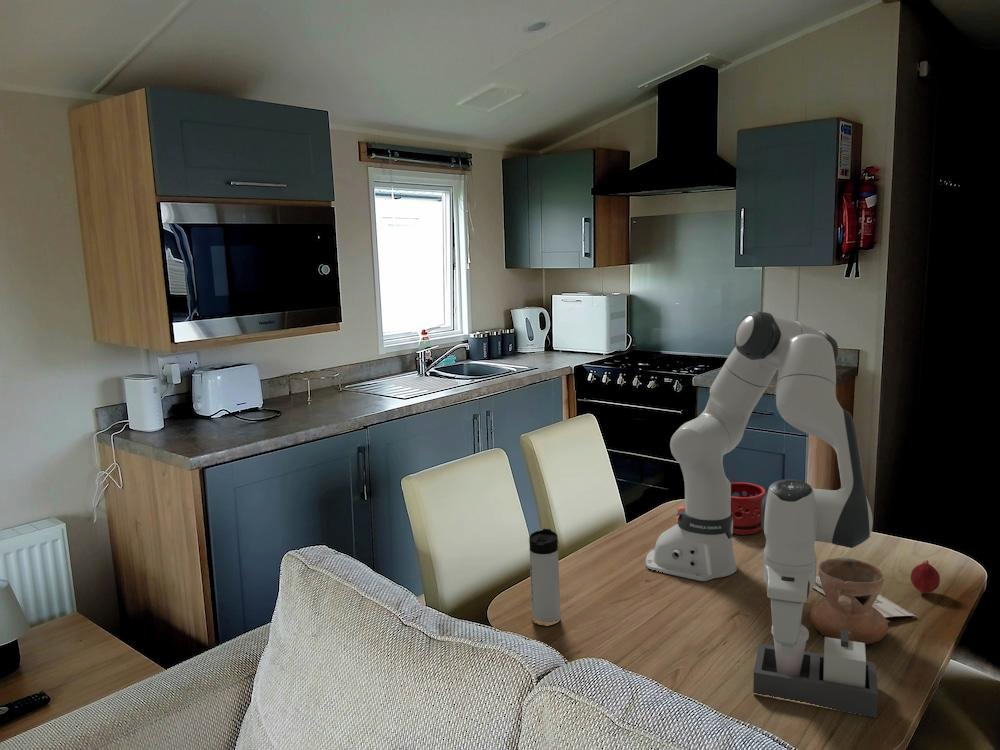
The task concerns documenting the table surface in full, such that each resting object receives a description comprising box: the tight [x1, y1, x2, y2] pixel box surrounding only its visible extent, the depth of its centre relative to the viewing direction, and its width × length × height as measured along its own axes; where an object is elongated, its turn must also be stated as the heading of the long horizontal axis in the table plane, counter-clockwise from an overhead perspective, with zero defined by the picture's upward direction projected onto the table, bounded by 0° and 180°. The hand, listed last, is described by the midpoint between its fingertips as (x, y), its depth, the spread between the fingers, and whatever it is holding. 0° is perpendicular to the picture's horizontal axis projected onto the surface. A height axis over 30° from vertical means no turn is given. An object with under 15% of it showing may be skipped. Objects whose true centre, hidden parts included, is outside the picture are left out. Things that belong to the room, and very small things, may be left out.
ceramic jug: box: [810, 557, 889, 645], centre depth 155 cm, size 18×14×14 cm
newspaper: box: [812, 575, 918, 624], centre depth 169 cm, size 23×12×2 cm, turn 13°
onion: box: [910, 559, 941, 595], centre depth 170 cm, size 6×6×8 cm
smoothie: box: [771, 623, 810, 677], centre depth 137 cm, size 6×6×14 cm
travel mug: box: [528, 528, 561, 622], centre depth 165 cm, size 6×7×20 cm
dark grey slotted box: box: [753, 629, 879, 719], centre depth 139 cm, size 20×16×10 cm
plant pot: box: [730, 482, 767, 536], centre depth 213 cm, size 13×13×12 cm
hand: (788, 642), depth 137 cm, fingers closed on smoothie, 6 cm apart
